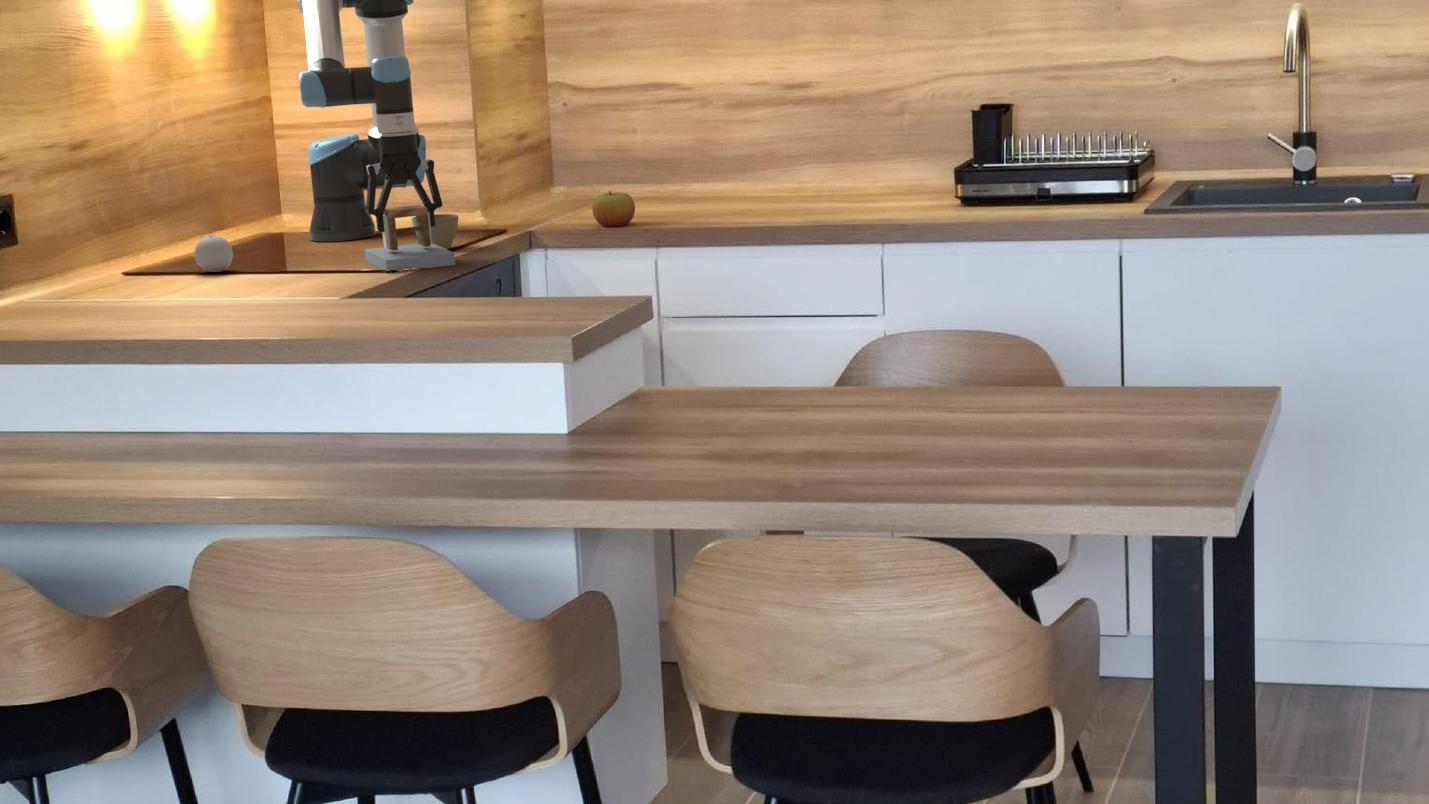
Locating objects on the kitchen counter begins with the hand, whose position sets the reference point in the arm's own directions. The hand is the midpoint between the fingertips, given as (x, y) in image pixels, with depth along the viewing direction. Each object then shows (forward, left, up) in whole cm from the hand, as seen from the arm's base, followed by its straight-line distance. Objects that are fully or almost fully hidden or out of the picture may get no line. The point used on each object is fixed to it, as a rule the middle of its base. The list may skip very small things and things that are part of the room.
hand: (408, 245), depth 358 cm
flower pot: (-16, +10, -4) cm, 19 cm away
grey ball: (-19, -37, -4) cm, 41 cm away
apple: (-22, +53, -4) cm, 58 cm away
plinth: (0, 0, -4) cm, 4 cm away
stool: (0, 0, 0) cm, 0 cm away
